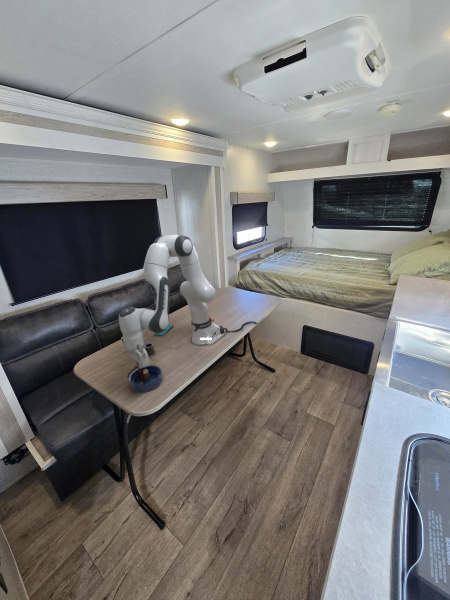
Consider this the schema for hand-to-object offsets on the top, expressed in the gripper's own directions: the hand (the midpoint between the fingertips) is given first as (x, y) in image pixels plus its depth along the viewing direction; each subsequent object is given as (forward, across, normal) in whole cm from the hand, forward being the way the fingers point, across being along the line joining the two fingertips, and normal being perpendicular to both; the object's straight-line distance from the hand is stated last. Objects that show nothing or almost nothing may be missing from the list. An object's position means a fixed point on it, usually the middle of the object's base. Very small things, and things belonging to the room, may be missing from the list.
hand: (139, 366), depth 117 cm
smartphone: (+10, +42, -34) cm, 55 cm away
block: (+10, +3, -2) cm, 10 cm away
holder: (+10, +22, -14) cm, 28 cm away
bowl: (+11, -1, -2) cm, 11 cm away
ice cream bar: (+11, +12, -4) cm, 17 cm away
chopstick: (+8, 0, 0) cm, 8 cm away
